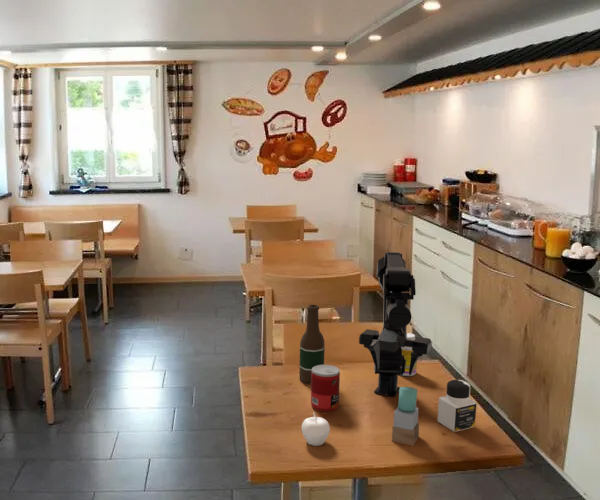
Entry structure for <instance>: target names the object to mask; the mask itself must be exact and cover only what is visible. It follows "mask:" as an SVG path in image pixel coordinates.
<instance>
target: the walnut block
mask: <svg viewBox="0 0 600 500" xmlns="http://www.w3.org/2000/svg"><path fill="white" fill-rule="evenodd" d="M391 428H392V430H391V431H392V432H391V433H392V434H391V435H392V436H391V442H394V443H398V444H403V445H408V446H412V447H414V445H415V443H417V440H418V439H419V435H420V422H419V421H418V423H417V424H416V426H415V428H414V430H408V429H403V428H398V427H393V426H392V427H391Z"/></svg>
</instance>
